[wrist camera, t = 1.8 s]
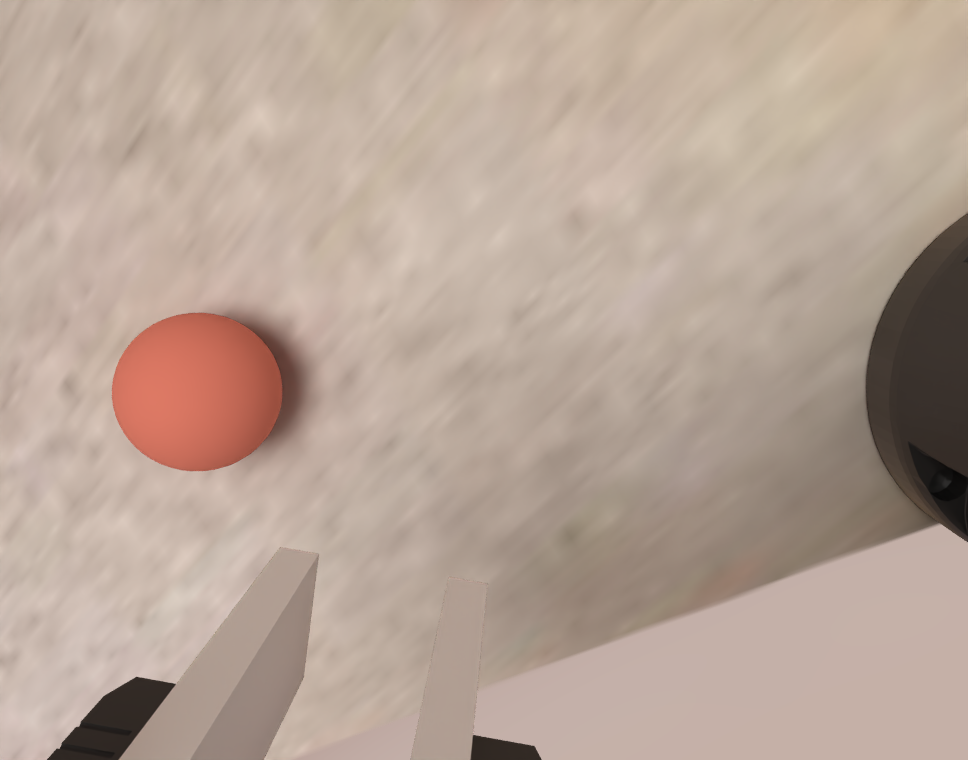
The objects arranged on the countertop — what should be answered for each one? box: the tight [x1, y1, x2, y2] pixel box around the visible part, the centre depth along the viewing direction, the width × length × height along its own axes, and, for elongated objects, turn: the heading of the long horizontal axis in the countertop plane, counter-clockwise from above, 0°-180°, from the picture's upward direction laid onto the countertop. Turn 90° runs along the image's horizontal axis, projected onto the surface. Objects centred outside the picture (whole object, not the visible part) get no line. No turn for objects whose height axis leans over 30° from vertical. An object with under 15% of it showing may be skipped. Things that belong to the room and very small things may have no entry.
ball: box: [112, 313, 282, 471], centre depth 27 cm, size 6×6×6 cm
